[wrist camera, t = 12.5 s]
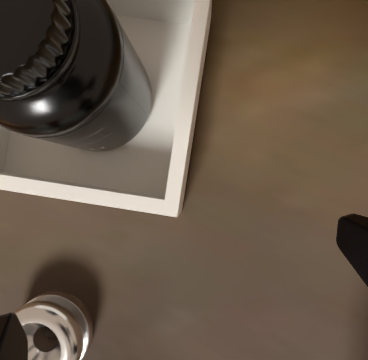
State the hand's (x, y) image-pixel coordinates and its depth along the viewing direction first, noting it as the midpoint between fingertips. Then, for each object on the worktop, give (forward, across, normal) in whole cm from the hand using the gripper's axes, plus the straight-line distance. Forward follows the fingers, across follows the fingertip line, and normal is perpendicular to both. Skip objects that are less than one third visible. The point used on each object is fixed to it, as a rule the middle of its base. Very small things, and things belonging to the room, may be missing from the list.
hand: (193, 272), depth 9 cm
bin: (+16, +1, -1) cm, 16 cm away
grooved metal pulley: (+11, +7, +12) cm, 18 cm away
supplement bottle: (+16, +1, -2) cm, 16 cm away
